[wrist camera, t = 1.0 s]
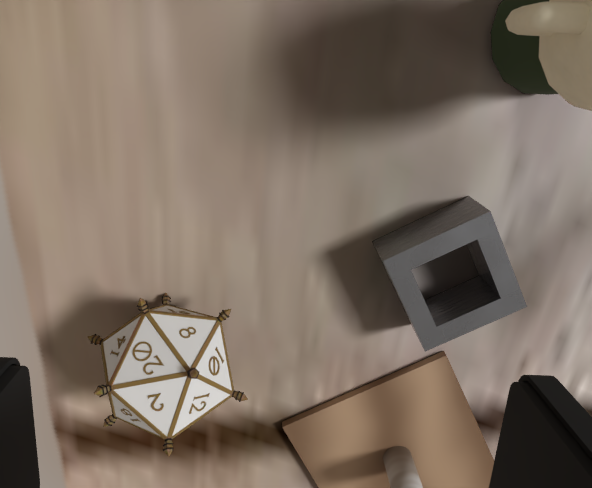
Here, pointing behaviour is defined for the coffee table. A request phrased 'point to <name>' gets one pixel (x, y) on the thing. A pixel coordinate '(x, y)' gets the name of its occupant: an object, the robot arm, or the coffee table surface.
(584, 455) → the robot arm
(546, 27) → the character mug
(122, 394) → the game die
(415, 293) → the link
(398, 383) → the tan piece
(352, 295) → the coffee table surface
